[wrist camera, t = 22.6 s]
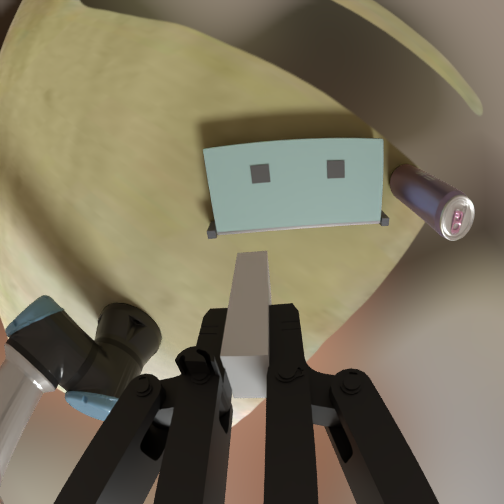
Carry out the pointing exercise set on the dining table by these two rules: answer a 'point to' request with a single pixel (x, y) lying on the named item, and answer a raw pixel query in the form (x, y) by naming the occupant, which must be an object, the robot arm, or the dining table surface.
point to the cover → (295, 184)
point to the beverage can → (433, 201)
